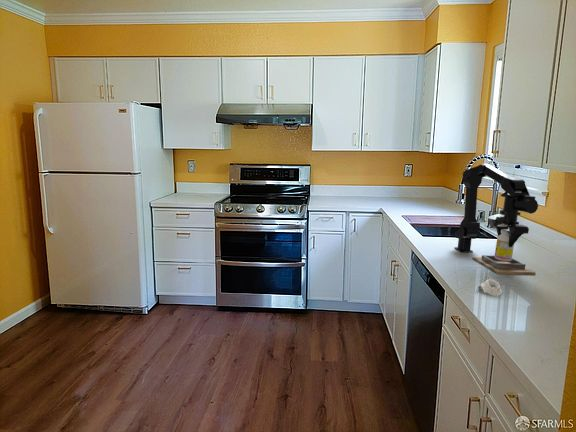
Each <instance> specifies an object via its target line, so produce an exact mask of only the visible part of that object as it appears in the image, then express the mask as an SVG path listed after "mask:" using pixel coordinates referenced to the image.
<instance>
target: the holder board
mask: <svg viewBox="0 0 576 432" xmlns="http://www.w3.org/2000/svg"><path fill="white" fill-rule="evenodd" d="M472 260H473V261H474V262H477V263H479V264H480V265H481V266H483V265H484V267H485V268H487V269H488V270H490V271H492V272H494V273H495V274H497V275H527V276H528V275H531V276H532V275H533V276H534V275H536V274H537V273H536V271H533V270H532V269H530V268H528V267H526V263H524V262H521V261H520V260H517V259H515V258H513V257H512V260H511V261H501V260H498V259H496V258H495V255H483V254H482V255H481V256H472Z"/></svg>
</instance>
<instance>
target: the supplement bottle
mask: <svg viewBox="0 0 576 432" xmlns="http://www.w3.org/2000/svg"><path fill="white" fill-rule="evenodd" d="M507 231H509V228H508V229H501V235H499V236H498V235H497V238H496V243H495V251H494V256H495V258H496V259H498V260H501V261H511V260H512V258H513V256H514V255H513V254H514V248H515V244H514V245H513V246H512V247H509V234H508V233H507Z"/></svg>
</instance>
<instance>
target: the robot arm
mask: <svg viewBox="0 0 576 432" xmlns="http://www.w3.org/2000/svg"><path fill="white" fill-rule="evenodd" d="M485 177H488V178H490V179H492V180H493V181H494V182H496V183H498V184H499V185H500V188H501V189H502V190H503V191H504V192H503V193H501V195H500V197H503V198H504V202H503V206H502V207H503V208H502V209H500V210H499V213H497V214H493V215H490V216H488V217H487V221H488V225H489V226H492V227H493V228H494V229H495V230H496V232H497V233H496V234H497V237H498V236H499V235H501V229H508V230H509V231H507V233H508V234H509V247H512V246H513V245H514V246H515V244H516V242H517V241H518V240H519V238H521V236H522V235H524V234H525V235H526V234H529V232H530V231H529V230H530V228H529V227H528V226H527V225H524V224H520V222H519V221H518V216H521V214H522V213H521V212H523V213H526V214H534V213H536V212H537V211H538V208H539V203H538V201H537V200H536V196H534V195H533V196H532V195H531V194H530V192H529V190H528V188H527V185H526V182H525V180H524V179H522V178H518V177H515V176H510V175H508V174H506V173H504V172H503V171H501V170H500V169H497V168H496V167H494V166H493V164H490V163H481V164H479V165H477V166H474V167H470V168H466V169H465V170H463V172H462V183H463V185H464V186H465V198H464V199H465V200H464V201H465V202H464V216H463V219H462V220H461V222H460V223H459V228H458V229H457V230H456V231H455V232H454V238H455V239H458V241H457V247H456V246H455V247H454V249H455V250H456V251H458V252H461V253H474V250H472V249H471V247H472V240H476V239H477V237H478V235H479V232H480V231H481V222H480V221H478V220H477V217H476V216H477V204H478V203H477V201H478V189H479V187H480V185H481V184H482V182H483V179H484V178H485Z"/></svg>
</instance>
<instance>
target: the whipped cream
mask: <svg viewBox="0 0 576 432" xmlns="http://www.w3.org/2000/svg"><path fill="white" fill-rule="evenodd" d="M477 289H478V290H483V292H484V293H485V294H486V293H487V294H489V295H491V296H494V295H497V296H500V295H501V294H502V293H503V291H502V289H501V286H500V283H499V282H498V281H497V280H494V279H490V278H488V279H486V280H485V281H484V282H482V283H481V284H480V285H478V287H477Z"/></svg>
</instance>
